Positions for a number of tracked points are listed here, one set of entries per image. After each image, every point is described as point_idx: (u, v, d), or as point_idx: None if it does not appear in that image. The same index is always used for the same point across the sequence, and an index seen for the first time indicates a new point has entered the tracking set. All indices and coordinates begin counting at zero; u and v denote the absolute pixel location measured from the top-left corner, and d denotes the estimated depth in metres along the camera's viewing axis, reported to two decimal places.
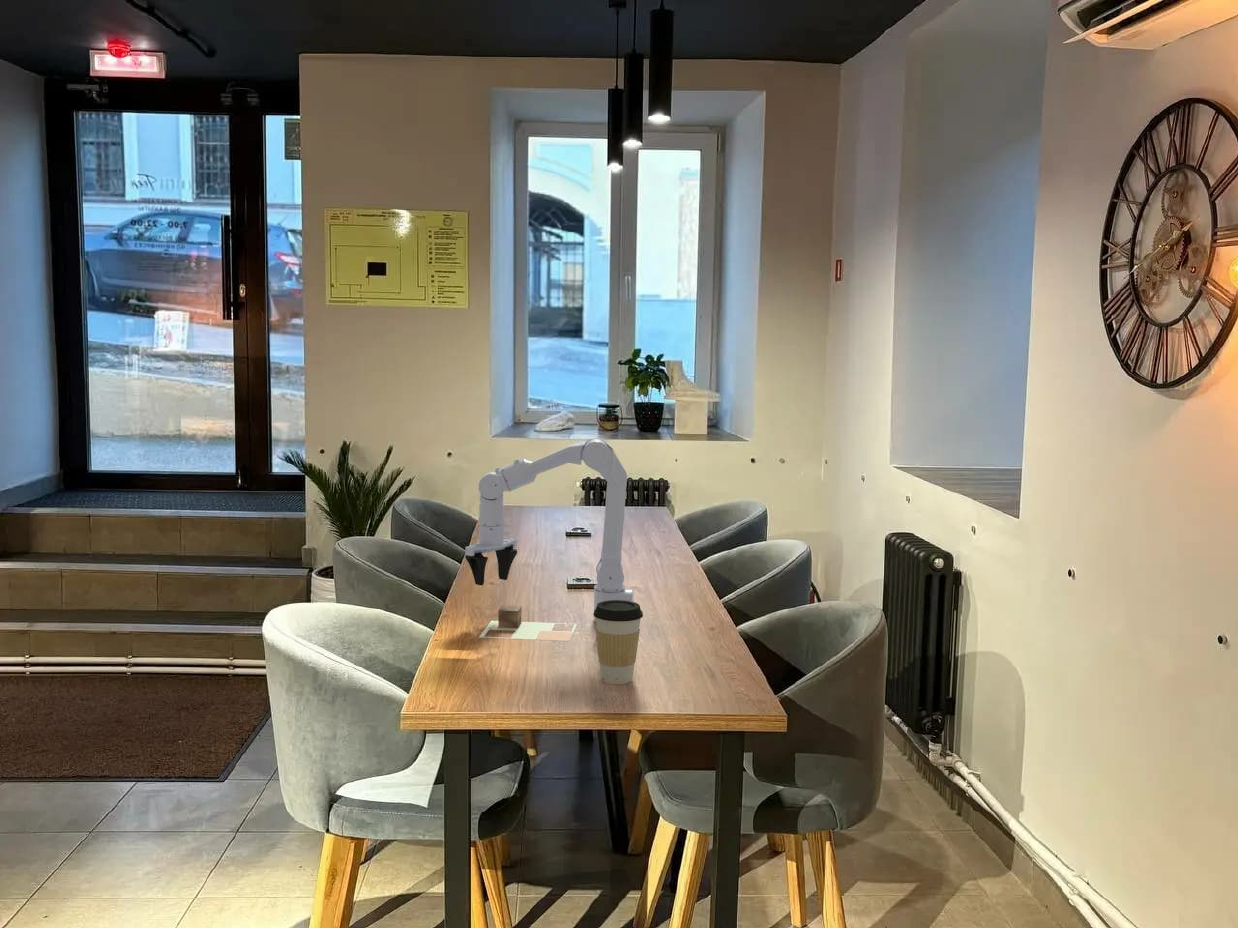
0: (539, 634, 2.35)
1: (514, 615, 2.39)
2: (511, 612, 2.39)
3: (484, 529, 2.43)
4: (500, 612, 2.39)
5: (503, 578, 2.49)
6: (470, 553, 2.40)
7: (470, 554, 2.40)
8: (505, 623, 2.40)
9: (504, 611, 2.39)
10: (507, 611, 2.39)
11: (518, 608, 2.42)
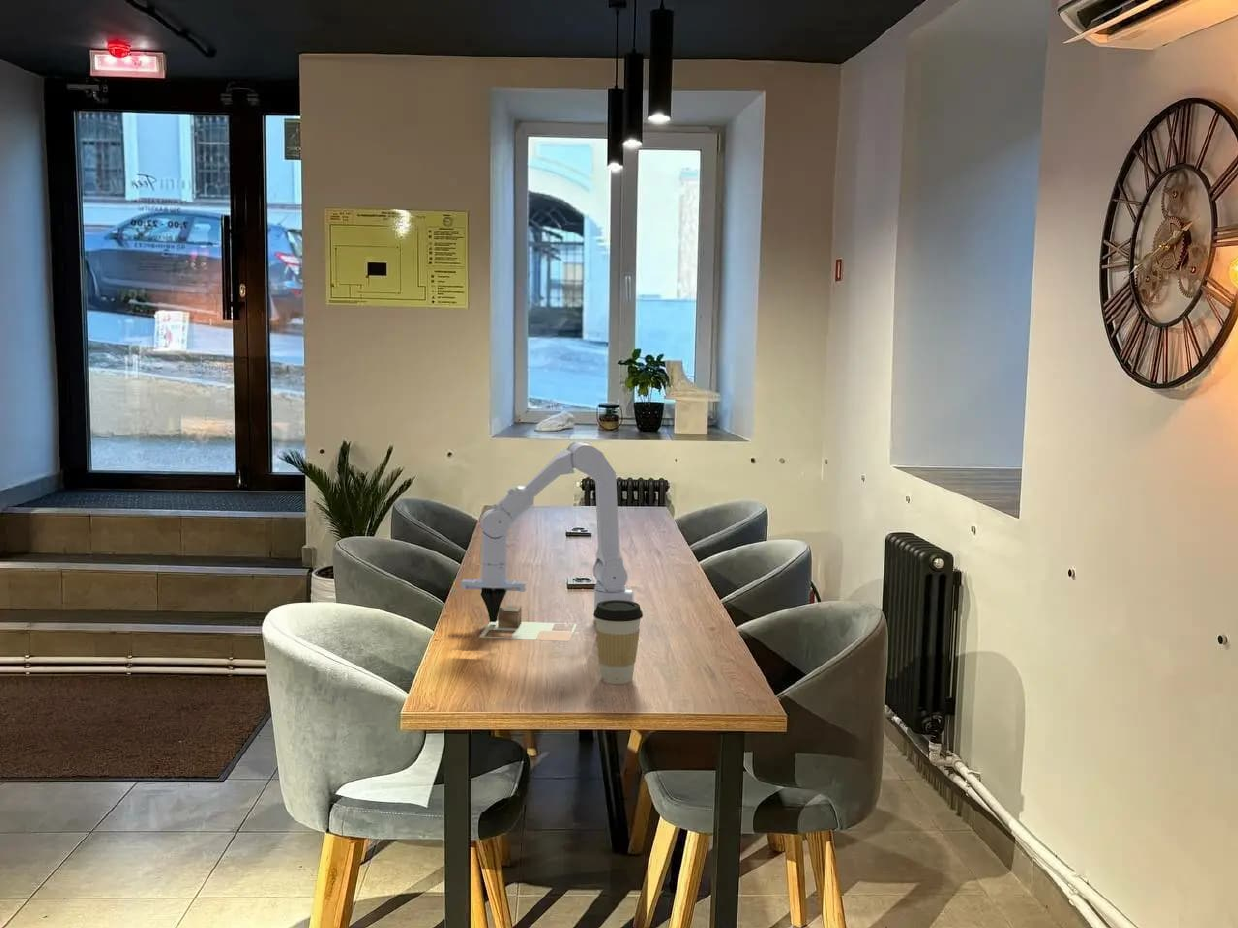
0: (539, 634, 2.35)
1: (514, 615, 2.39)
2: (511, 612, 2.39)
3: (481, 565, 2.40)
4: (500, 612, 2.39)
5: None
6: None
7: None
8: (505, 623, 2.40)
9: (504, 611, 2.39)
10: (507, 611, 2.39)
11: (518, 608, 2.42)
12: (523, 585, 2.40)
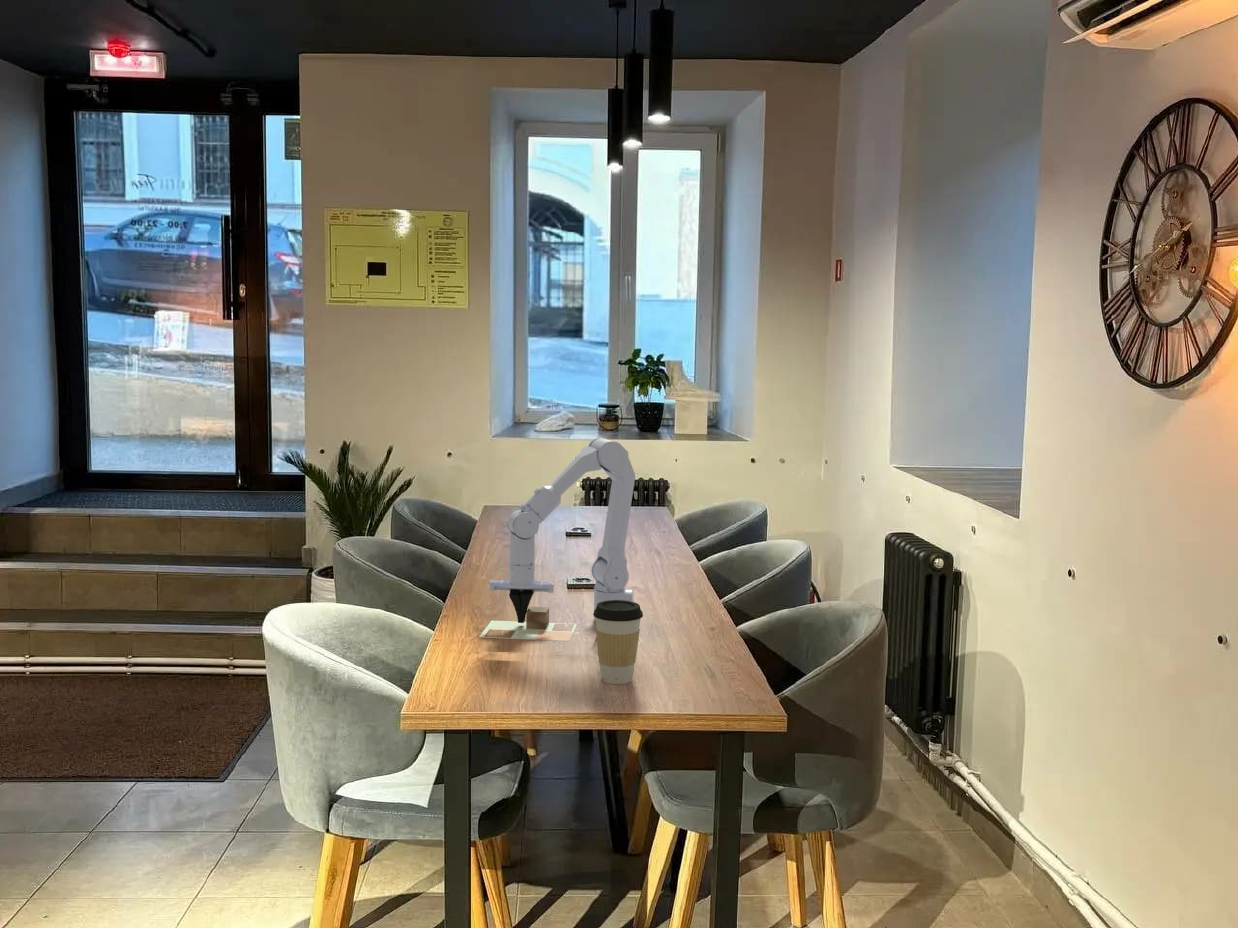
0: (539, 634, 2.35)
1: (542, 616, 2.39)
2: (539, 613, 2.39)
3: None
4: (528, 613, 2.39)
5: None
6: None
7: None
8: (533, 624, 2.39)
9: (532, 612, 2.39)
10: (535, 612, 2.39)
11: (546, 609, 2.41)
12: (551, 586, 2.39)
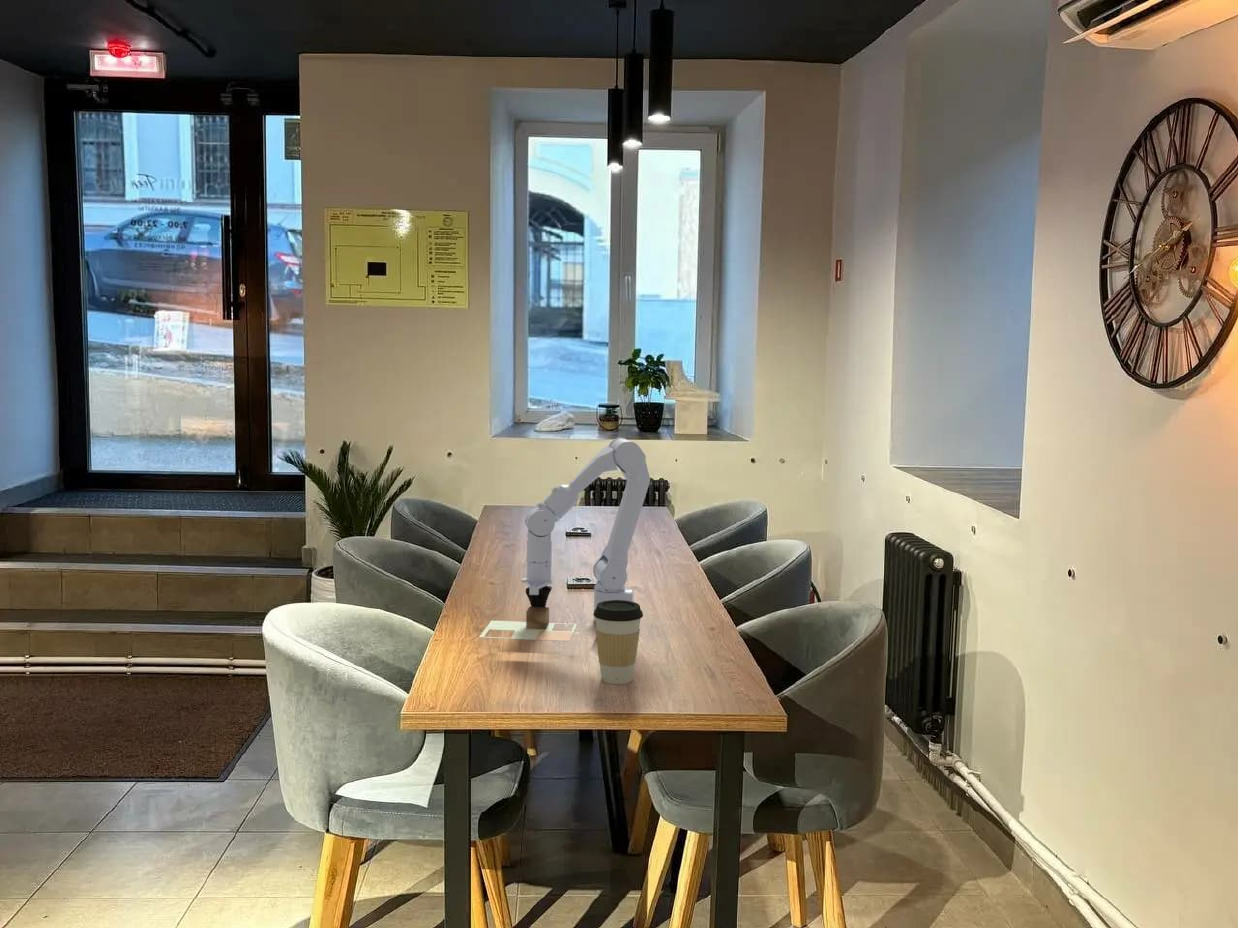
0: (539, 634, 2.35)
1: (542, 616, 2.39)
2: (539, 613, 2.39)
3: (539, 566, 2.41)
4: (528, 613, 2.39)
5: None
6: (536, 592, 2.37)
7: (536, 593, 2.37)
8: (533, 624, 2.39)
9: (532, 612, 2.39)
10: (535, 612, 2.39)
11: (546, 609, 2.41)
12: None
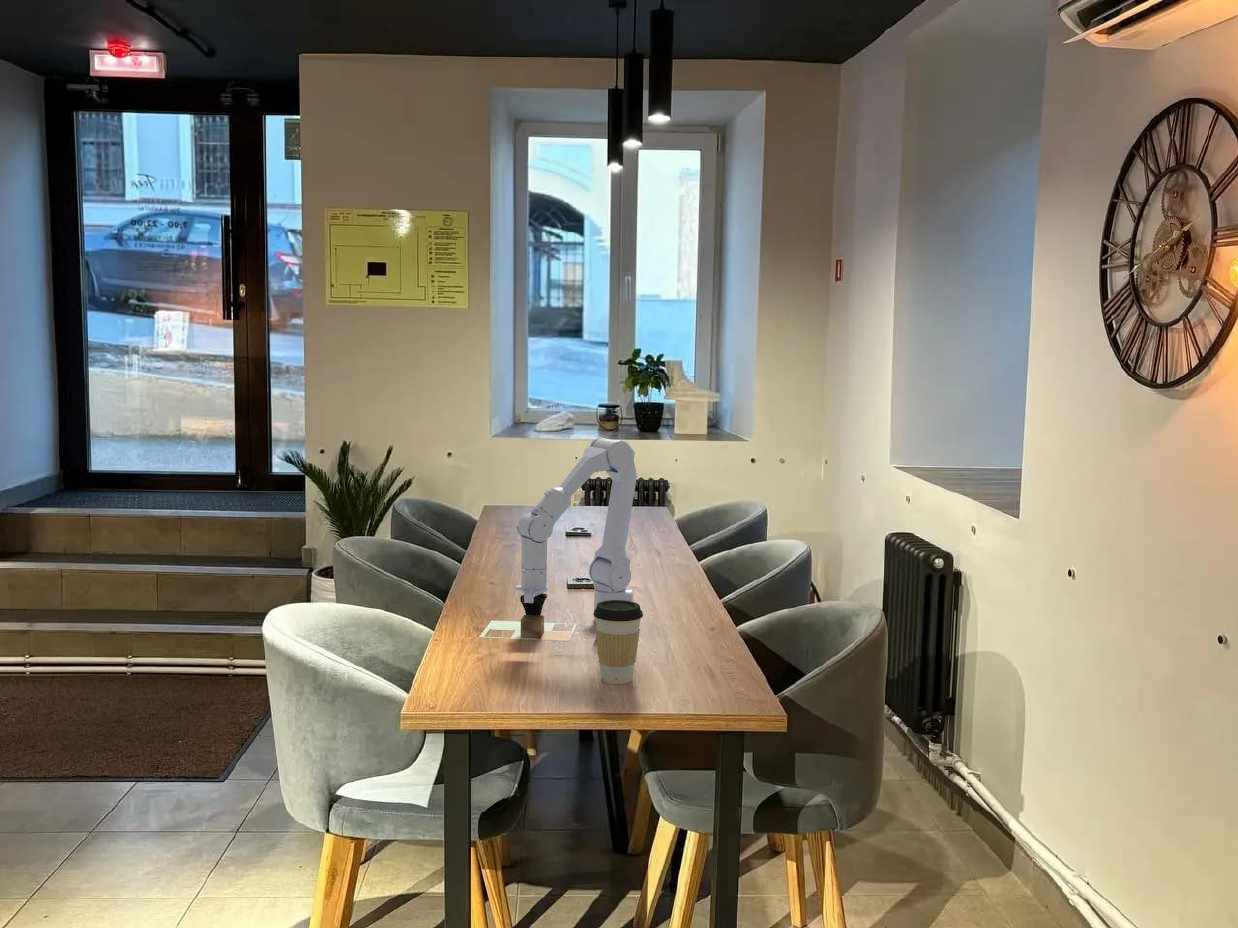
0: None
1: (537, 624, 2.31)
2: (534, 622, 2.31)
3: (534, 573, 2.33)
4: (522, 622, 2.32)
5: None
6: (531, 600, 2.30)
7: (531, 601, 2.30)
8: (527, 633, 2.32)
9: (526, 621, 2.32)
10: (530, 621, 2.32)
11: (541, 618, 2.34)
12: None
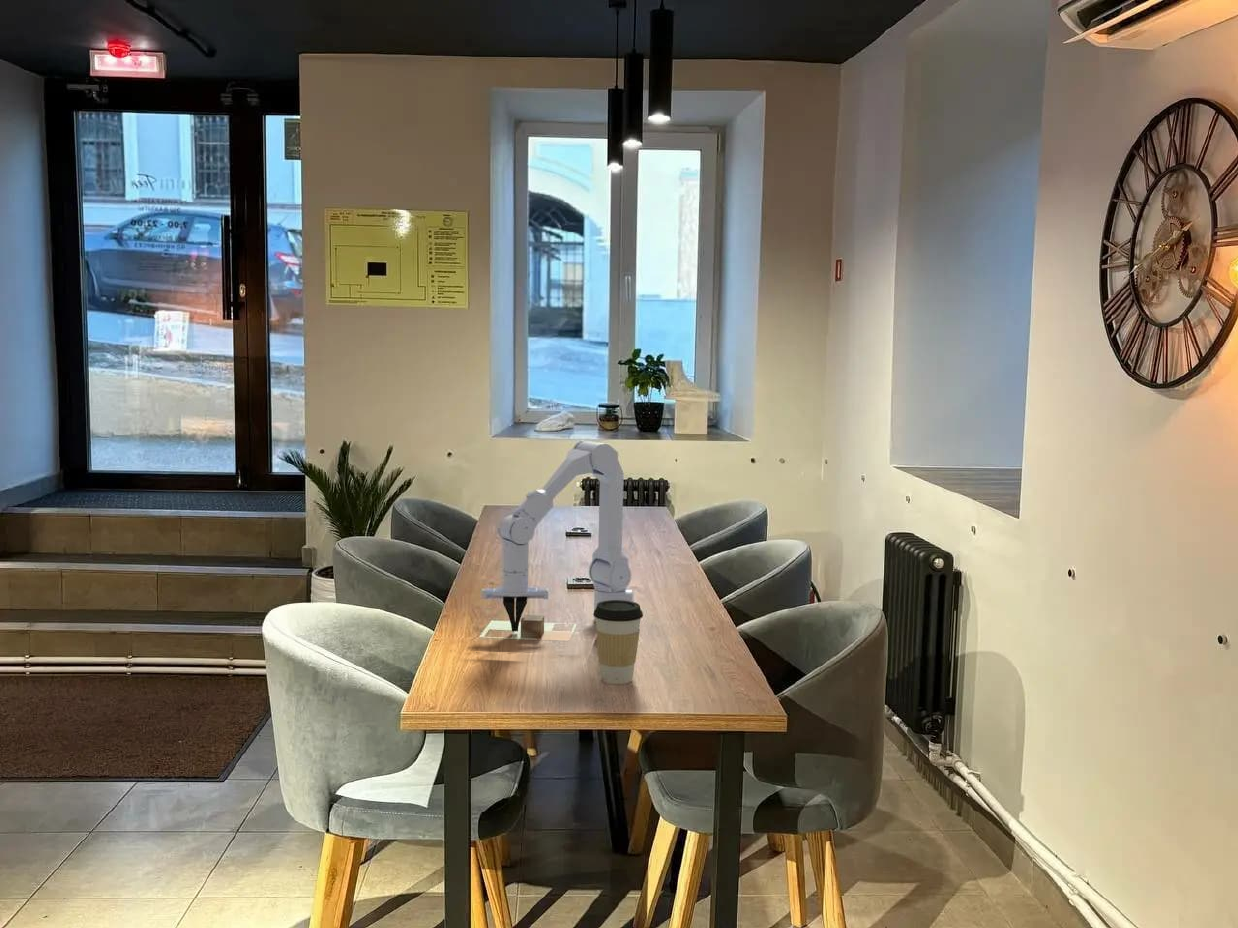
0: None
1: (537, 624, 2.31)
2: (534, 622, 2.31)
3: None
4: (522, 622, 2.32)
5: None
6: (482, 596, 2.33)
7: (482, 597, 2.33)
8: (527, 633, 2.32)
9: (527, 621, 2.32)
10: (530, 621, 2.32)
11: (541, 618, 2.34)
12: (547, 592, 2.33)
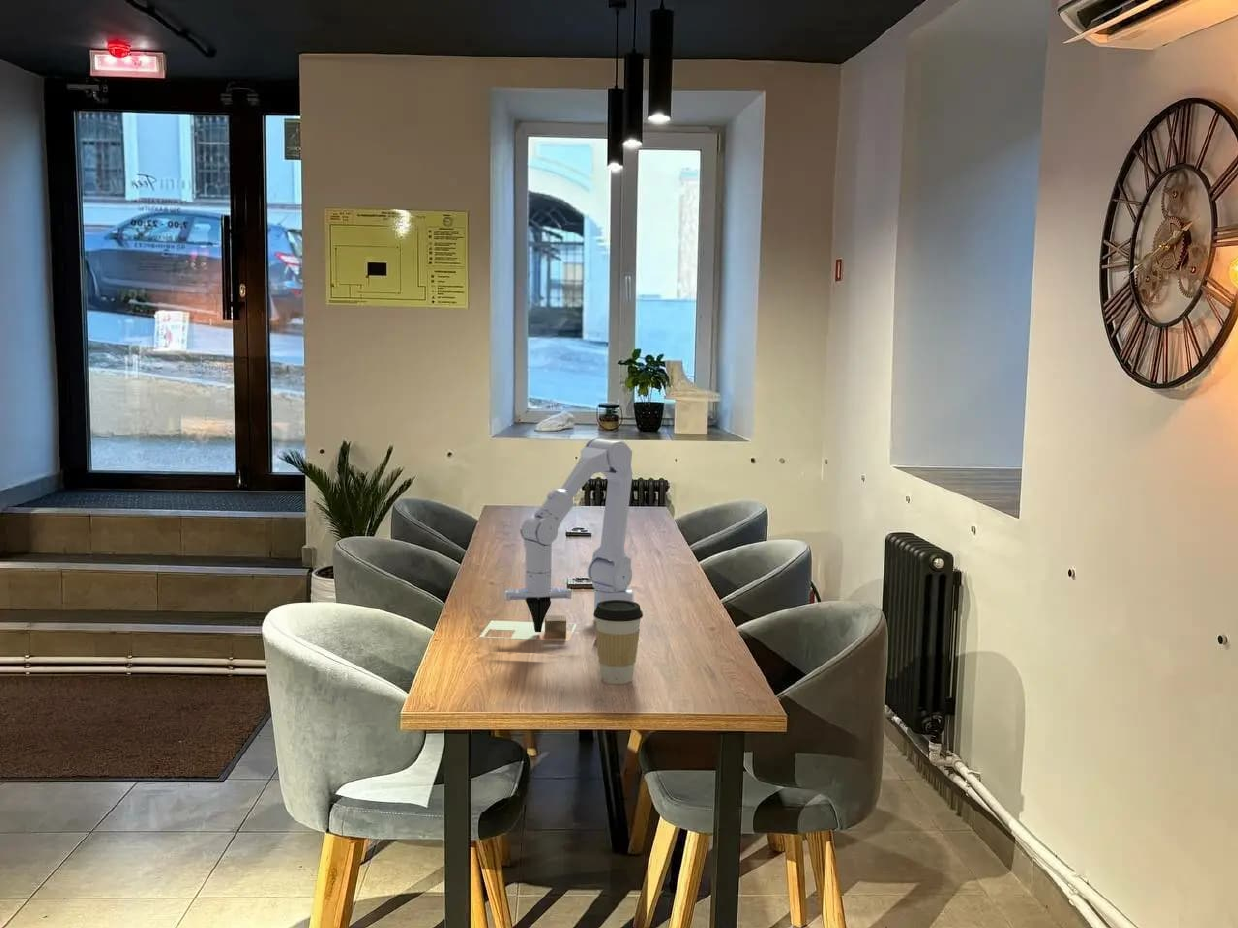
0: (539, 634, 2.35)
1: (562, 624, 2.32)
2: (559, 622, 2.32)
3: (526, 575, 2.32)
4: (547, 622, 2.32)
5: None
6: (505, 598, 2.31)
7: (505, 599, 2.31)
8: (552, 633, 2.32)
9: (551, 621, 2.32)
10: (555, 621, 2.32)
11: (564, 617, 2.34)
12: (570, 592, 2.34)
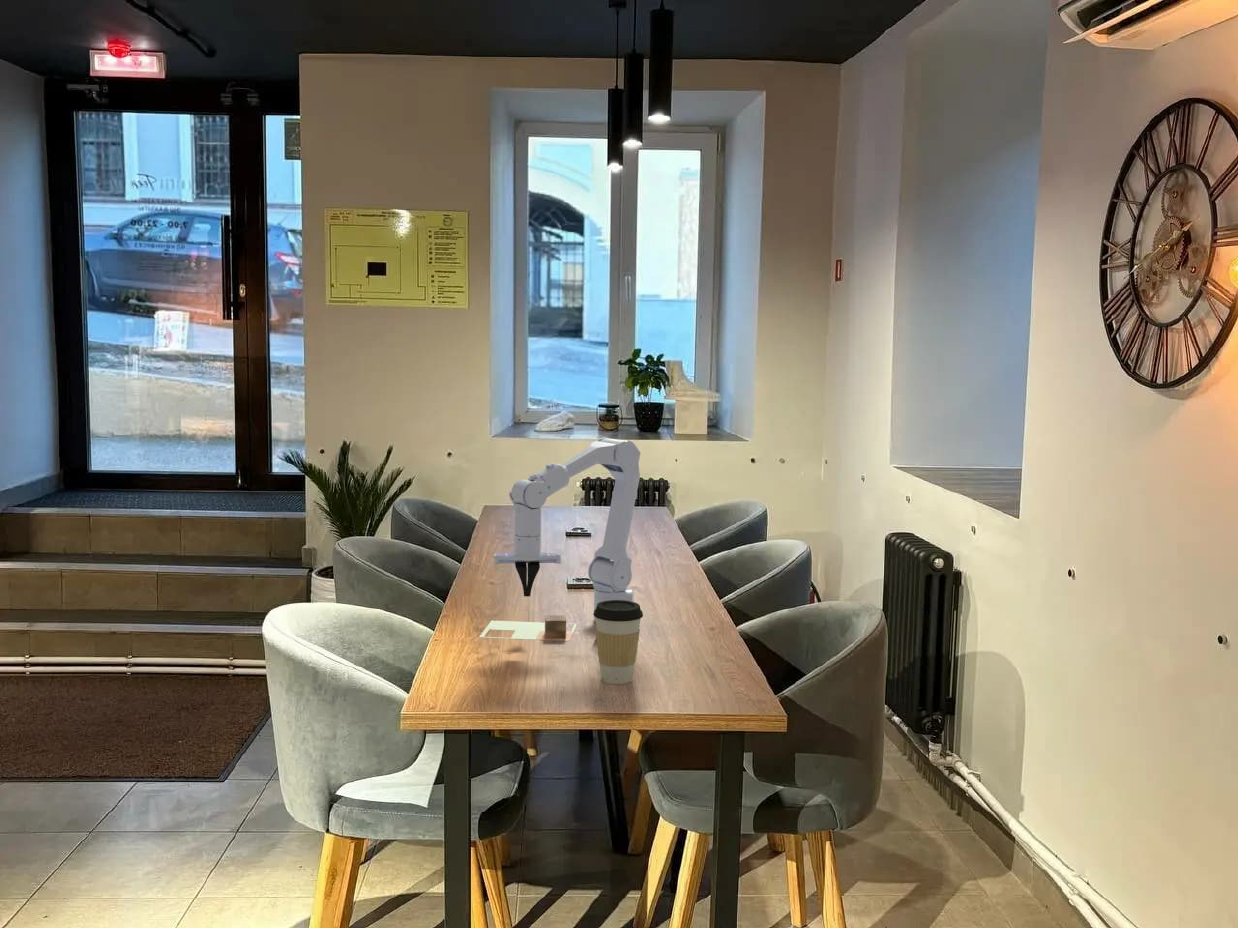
0: (539, 634, 2.35)
1: (562, 624, 2.32)
2: (559, 622, 2.32)
3: (515, 538, 2.31)
4: (547, 622, 2.32)
5: None
6: (494, 561, 2.31)
7: (494, 562, 2.31)
8: (552, 633, 2.32)
9: (551, 621, 2.32)
10: (554, 621, 2.32)
11: (564, 617, 2.34)
12: (559, 557, 2.33)
